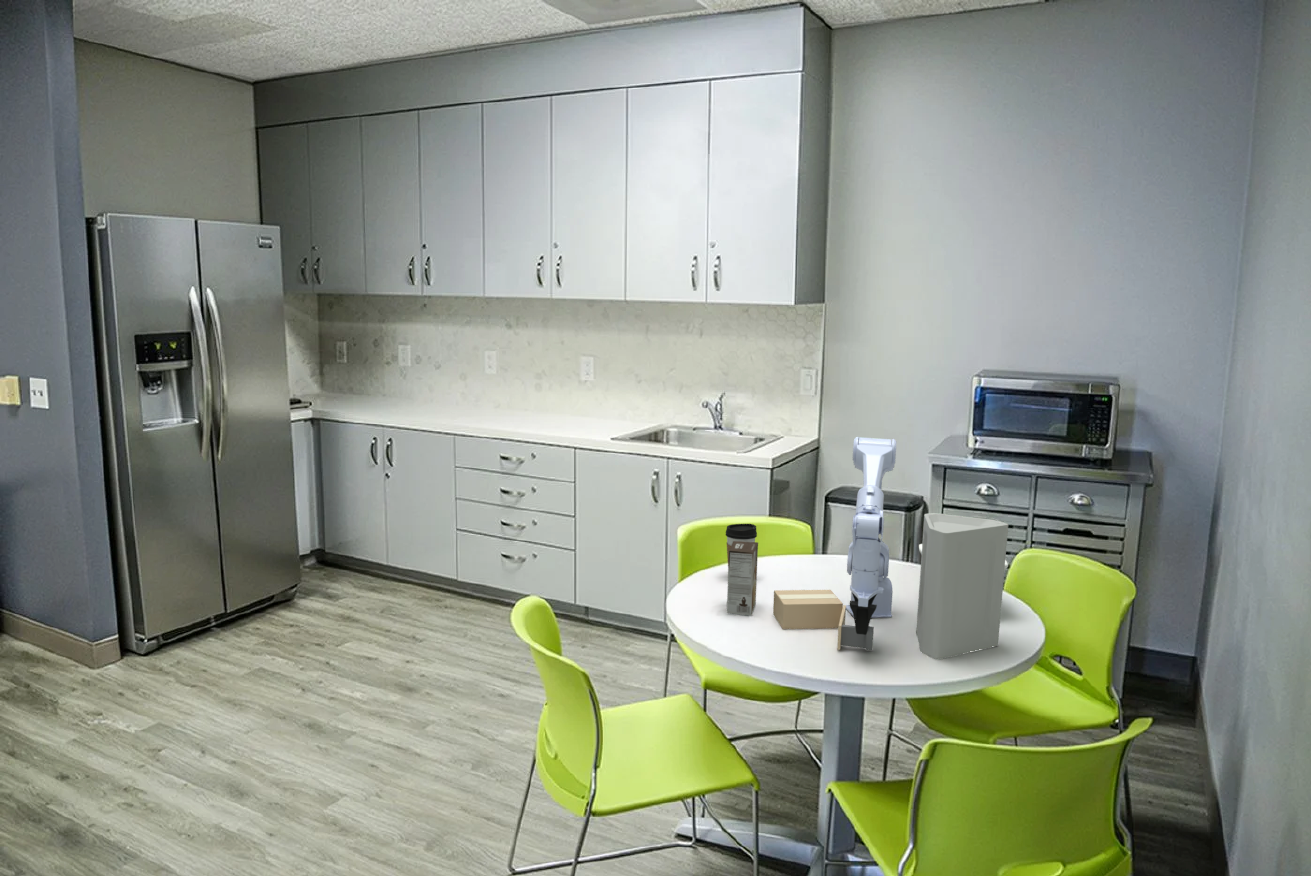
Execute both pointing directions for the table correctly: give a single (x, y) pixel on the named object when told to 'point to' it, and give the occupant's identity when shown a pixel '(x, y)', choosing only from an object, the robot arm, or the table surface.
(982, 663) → the table surface
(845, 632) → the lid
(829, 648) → the table surface
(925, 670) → the table surface
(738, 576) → the coffee box
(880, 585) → the robot arm
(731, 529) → the coffee cup
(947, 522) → the grey triangular prism
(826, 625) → the carton
